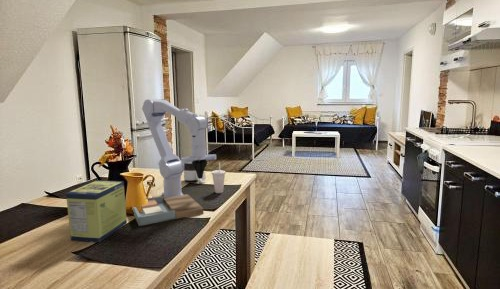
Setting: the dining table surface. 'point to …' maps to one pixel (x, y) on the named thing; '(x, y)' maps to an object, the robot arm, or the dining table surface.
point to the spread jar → (192, 174)
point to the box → (154, 217)
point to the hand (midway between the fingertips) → (199, 178)
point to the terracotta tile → (149, 204)
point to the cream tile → (152, 210)
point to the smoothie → (218, 180)
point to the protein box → (96, 210)
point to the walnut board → (183, 206)
